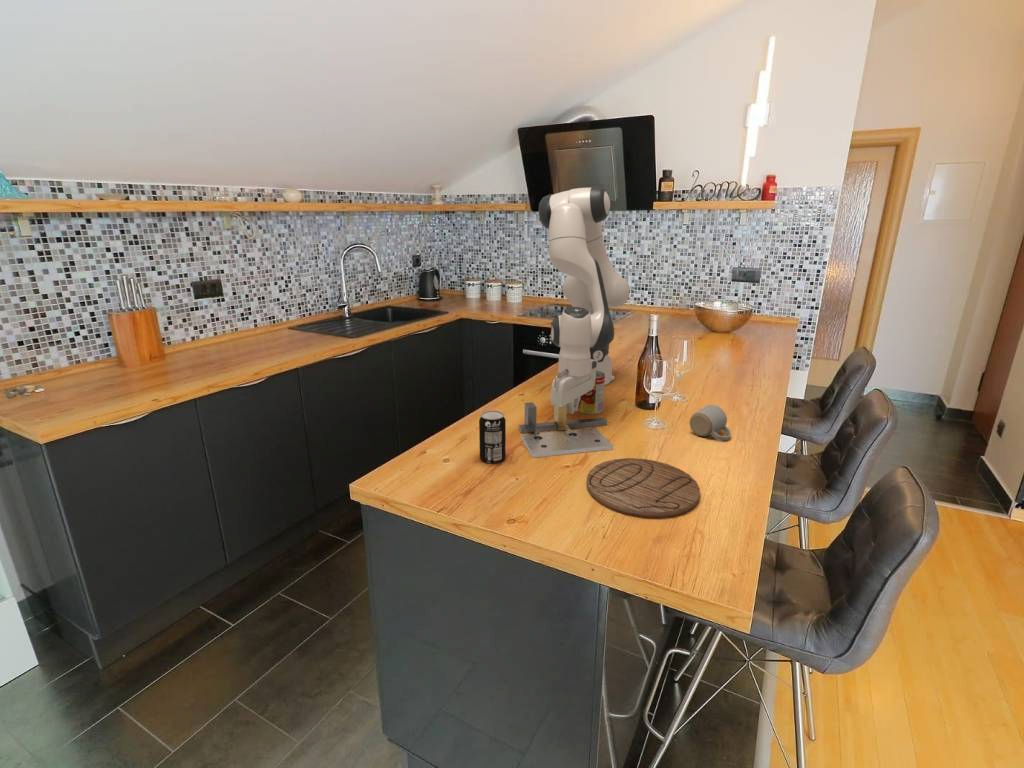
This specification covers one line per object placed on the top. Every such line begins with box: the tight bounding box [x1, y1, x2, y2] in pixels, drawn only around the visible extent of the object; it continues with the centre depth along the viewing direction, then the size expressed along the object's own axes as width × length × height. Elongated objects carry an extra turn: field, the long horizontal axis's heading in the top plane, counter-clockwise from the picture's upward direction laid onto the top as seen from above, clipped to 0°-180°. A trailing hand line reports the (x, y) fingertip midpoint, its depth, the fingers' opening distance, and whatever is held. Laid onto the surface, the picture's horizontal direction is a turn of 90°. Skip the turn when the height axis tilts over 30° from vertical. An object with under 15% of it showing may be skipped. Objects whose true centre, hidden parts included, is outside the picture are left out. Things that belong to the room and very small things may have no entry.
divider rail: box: [518, 401, 608, 435], centre depth 152 cm, size 10×26×8 cm, turn 103°
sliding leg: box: [553, 404, 572, 432], centre depth 152 cm, size 10×2×8 cm, turn 13°
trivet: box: [586, 457, 701, 520], centre depth 122 cm, size 25×25×2 cm
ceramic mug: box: [689, 404, 732, 442], centre depth 150 cm, size 11×8×8 cm
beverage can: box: [478, 410, 507, 464], centre depth 135 cm, size 7×7×12 cm
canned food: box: [577, 370, 605, 415], centre depth 168 cm, size 8×8×12 cm
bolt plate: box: [520, 427, 614, 459], centre depth 145 cm, size 12×22×1 cm, turn 103°
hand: (572, 412), depth 155 cm, fingers closed
